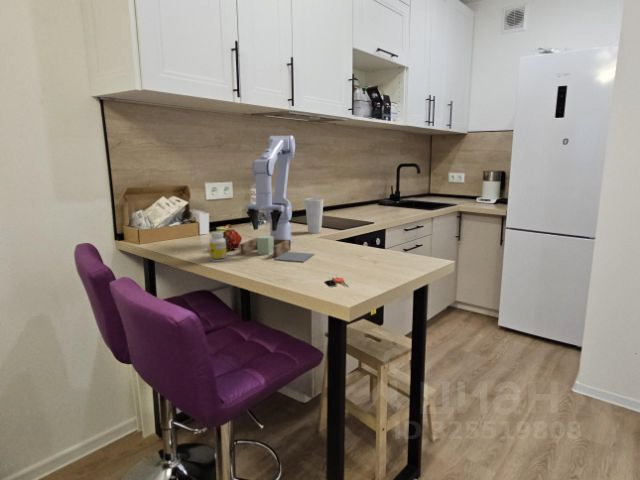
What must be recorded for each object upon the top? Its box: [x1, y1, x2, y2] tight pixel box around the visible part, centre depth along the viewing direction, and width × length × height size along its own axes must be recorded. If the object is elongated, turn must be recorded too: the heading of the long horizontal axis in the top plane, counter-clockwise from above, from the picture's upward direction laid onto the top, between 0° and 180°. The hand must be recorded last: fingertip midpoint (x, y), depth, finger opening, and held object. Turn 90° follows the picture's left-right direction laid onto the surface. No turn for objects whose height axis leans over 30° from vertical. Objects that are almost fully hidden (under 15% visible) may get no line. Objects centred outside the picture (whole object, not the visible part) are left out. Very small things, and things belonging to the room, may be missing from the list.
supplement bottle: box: [209, 230, 228, 263], centre depth 144 cm, size 5×5×10 cm
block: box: [256, 235, 274, 255], centre depth 154 cm, size 4×4×6 cm
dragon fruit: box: [222, 228, 242, 251], centre depth 160 cm, size 8×8×12 cm
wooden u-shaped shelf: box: [239, 237, 292, 259], centre depth 155 cm, size 13×14×4 cm
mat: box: [273, 251, 315, 263], centre depth 147 cm, size 11×11×1 cm
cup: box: [304, 197, 324, 234], centre depth 191 cm, size 8×8×16 cm
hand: (265, 229), depth 153 cm, fingers open, 7 cm apart
